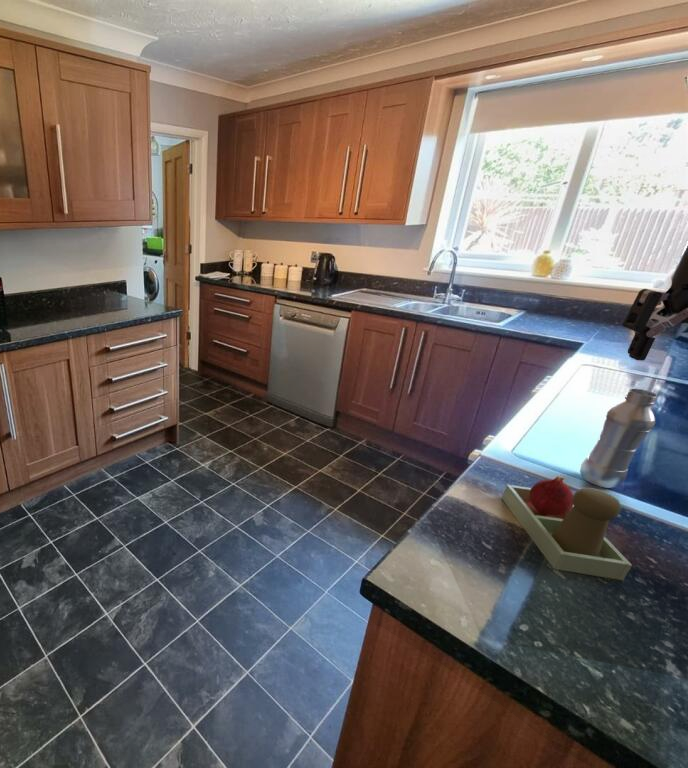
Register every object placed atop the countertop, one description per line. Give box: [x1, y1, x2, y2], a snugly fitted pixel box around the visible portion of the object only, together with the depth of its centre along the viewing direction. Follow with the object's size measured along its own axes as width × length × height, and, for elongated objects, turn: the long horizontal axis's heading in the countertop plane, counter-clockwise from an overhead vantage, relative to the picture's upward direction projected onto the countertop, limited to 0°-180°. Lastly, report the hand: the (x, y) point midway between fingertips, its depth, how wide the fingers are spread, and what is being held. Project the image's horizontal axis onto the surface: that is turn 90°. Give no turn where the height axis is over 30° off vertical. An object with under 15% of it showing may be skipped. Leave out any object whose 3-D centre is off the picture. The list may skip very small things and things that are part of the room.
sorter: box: [501, 484, 633, 581], centre depth 71 cm, size 9×17×3 cm, turn 167°
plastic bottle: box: [579, 388, 658, 489], centre depth 81 cm, size 6×7×20 cm
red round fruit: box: [529, 475, 574, 516], centre depth 73 cm, size 6×6×8 cm
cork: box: [551, 487, 622, 557], centre depth 65 cm, size 6×6×11 cm
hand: (669, 361), depth 64 cm, fingers open, 8 cm apart
